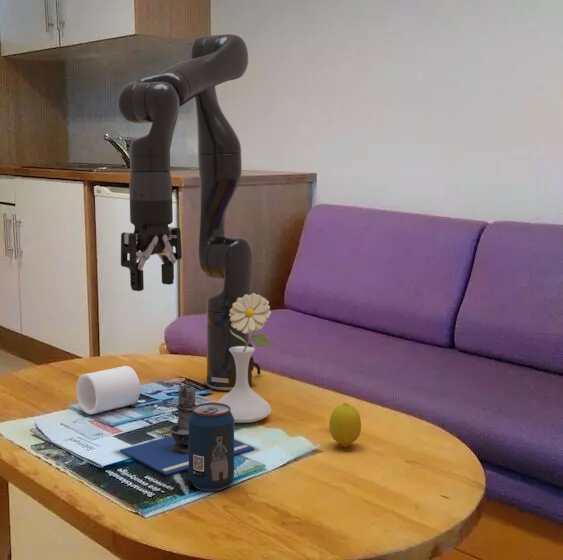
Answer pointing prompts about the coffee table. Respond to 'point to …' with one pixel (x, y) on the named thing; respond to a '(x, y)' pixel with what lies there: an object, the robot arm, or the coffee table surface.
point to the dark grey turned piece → (183, 419)
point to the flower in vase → (247, 359)
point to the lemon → (345, 424)
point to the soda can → (211, 446)
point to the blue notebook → (168, 455)
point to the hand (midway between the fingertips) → (153, 287)
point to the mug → (107, 389)
